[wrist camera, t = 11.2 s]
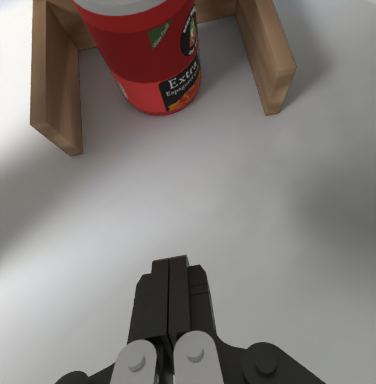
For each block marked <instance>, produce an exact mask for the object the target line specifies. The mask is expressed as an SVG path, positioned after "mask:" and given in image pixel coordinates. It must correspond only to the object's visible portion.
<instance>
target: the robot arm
mask: <svg viewBox="0 0 376 384" xmlns="http://www.w3.org/2000/svg"><path fill="white" fill-rule="evenodd" d="M173 375H175V383H176V384H326V383H324V382H323V381H322V380H320V379H319V378H318V377H316V376H315V375H314V374H313V373H311V372H310V371H309V370H307V369H306V368H305V367H303V366H302V365H301V364H299V363H298V362H297V361H296V360H294V359H293V358H292V357H290V356H289V355H288V354H286V353H285V352H284V351H282V350H281V349H280V348H278V347H277V346H275V345H273V344H270V343H266V342H259V343H255V344H253V345H251V346H250V347H249V348H248V349H243V348H237V347H233V346H230V345H227V344H226V343H224V342H223V341H222V340H220V338H219V337H218V336H217V333H216V326H215V320H214V313H213V307H212V300H211V294H210V290H209V285H208V280H207V276H206V272H205V271H204V270H203V268H202V267H201V266H200V265H195V266H189V262H188V258H187V255H182V256H176V257H171V258H165V259H160V260H154V261H153V262H152V271H151V273H150V274H144V275H142V277H141V279H140V280H139V282H138V284H137V286H136V292H135V298H134V307H133V311H132V317H131V323H130V329H129V336H128V342H127V345H126V346H125V347H124V348H123V349H122V350H121V352H120V353H119V355H118V357H117V359H116V362H115V363H113V364H112V365H111V366H109V367H107V368H105V369H103V370H101V371H100V372H98V373H96V374H94V375H92V376H90V377H88V376H87V374H85V373H84V372H81V371H74V372H70V373H68V374H66V375H64V376H63V377H62V378H60V379H59V380H58V381H57V382H56V383H55V384H173Z"/></svg>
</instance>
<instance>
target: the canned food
mask: <svg viewBox="0 0 376 384" xmlns="http://www.w3.org/2000/svg"><path fill="white" fill-rule="evenodd" d="M72 1H73V3H74V5H75V6H76V8H77V11H78V13H79V15H80V16H81V18H82V20H83V22H84V24H85V25H86V27H87V29H88V31H89V33H90V35H91V36H92V38H93V40H94V42H95V44H96V46H97V47H98V49H99V51H100V53H101V55H102V57H103V58H104V60H105V62H106V64H107V66H108V67H109V69H110V71H111V73H112V75H113V77H114V78H115V80H116V82H117V84H118V86H119V88H120V89H121V91H122V93H123V95H124V96H125V98H126V99H127V100H128V102H130V103H131V104H132V105H133V106H135V107H136V108H137V109H138V110H140V111H142V112H144V113H147V114H151V115H168V114H172V113H175V112H177V111H180V110H181V109H183V108H185V107H186V106H187V105H188V104H189V103H190V102H191V101H192V100H193V99H194V97H195V96H196V94H197V91H198V89H199V86H200V82H201V67H200V55H199V43H198V31H197V20H196V8H195V0H72Z"/></svg>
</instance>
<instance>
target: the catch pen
mask: <svg viewBox="0 0 376 384" xmlns="http://www.w3.org/2000/svg"><path fill="white" fill-rule="evenodd" d="M195 8H196V20H197V23H201V22H206V21H210V20H214V19H219V18H223V17H227V16H232V15H236V18H237V21H238V25H239V28H240V31H241V35H242V38H243V42H244V45H245V48H246V52H247V55H248V58H249V62H250V65H251V68H252V72H253V75H254V79H255V82H256V85H257V89H258V92H259V95H260V99H261V102H262V105H263V109H264V112H265V116H268V115H273V114H277V113H279V112H280V109H281V107H282V104H283V101H284V99H285V96H286V93H287V91H288V88H289V86H290V83H291V80H292V78H293V75H294V72H295V70H296V65H295V62H294V59H293V56H292V54H291V51H290V48H289V45H288V43H287V40H286V37H285V34H284V32H283V29H282V26H281V23H280V21H279V18H278V15H277V12H276V10H275V7H274V4H273V1H272V0H195ZM93 47H97V46H96V44H95V42H94V40H93V38H92V36H91V35H90V33H89V31H88V29H87V27H86V25H85V24H84V22H83V20H82V18H81V16H80V15H79V13H78V11H77V8H76V6H75V5H74V3H73V1H72V0H33V20H32V61H31V102H30V125H31V126H32V127H34V128H35V129H36V130H37V131H39V132H40V133H41V134H43V135H44V136H45V137H46V138H48V139H49V140H50V141H52V142H53V143H54V144H55V145H57V146H58V147H59V148H60V149H62V150H63V151H64V152H66V153H67V154H68V155H69V156H74V155H79V154H83V149H82V127H81V105H80V82H79V60H78V51H80V50H84V49H89V48H93Z"/></svg>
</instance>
